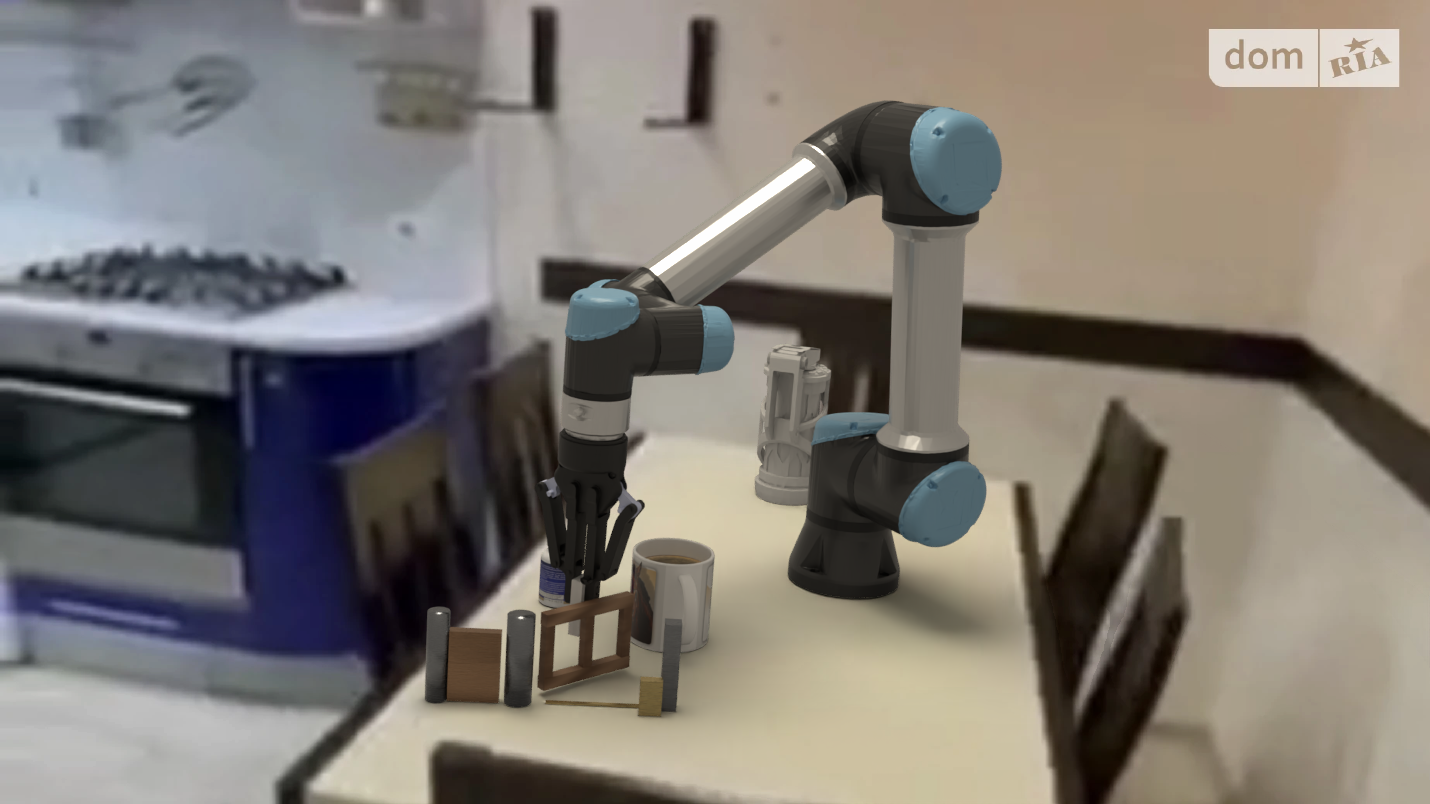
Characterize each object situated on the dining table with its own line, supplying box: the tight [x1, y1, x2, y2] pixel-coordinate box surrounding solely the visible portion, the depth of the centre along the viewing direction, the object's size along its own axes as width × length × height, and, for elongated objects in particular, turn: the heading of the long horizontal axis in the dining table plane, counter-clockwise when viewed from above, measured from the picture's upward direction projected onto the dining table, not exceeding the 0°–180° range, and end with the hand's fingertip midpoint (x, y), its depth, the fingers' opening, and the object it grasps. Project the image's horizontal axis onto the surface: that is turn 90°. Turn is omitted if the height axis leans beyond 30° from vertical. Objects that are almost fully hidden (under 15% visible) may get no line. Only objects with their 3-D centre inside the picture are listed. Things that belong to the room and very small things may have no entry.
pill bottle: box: [538, 529, 583, 609], centre depth 199 cm, size 5×5×9 cm
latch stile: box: [637, 618, 683, 718], centre depth 170 cm, size 4×3×10 cm
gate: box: [536, 590, 634, 692], centre depth 176 cm, size 12×1×9 cm, turn 132°
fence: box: [424, 606, 639, 709], centre depth 170 cm, size 25×3×10 cm, turn 94°
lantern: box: [754, 343, 832, 506], centre depth 247 cm, size 13×10×25 cm
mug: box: [629, 537, 716, 653], centre depth 189 cm, size 10×12×11 cm
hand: (579, 631), depth 179 cm, fingers closed
